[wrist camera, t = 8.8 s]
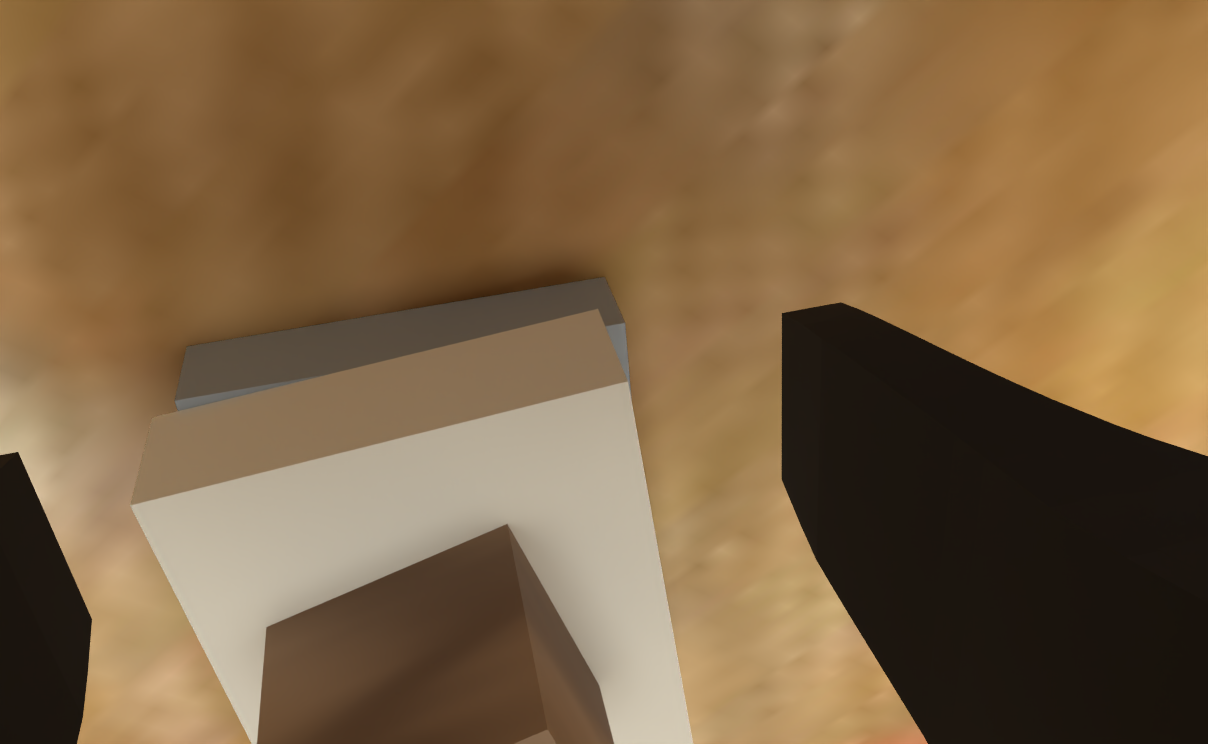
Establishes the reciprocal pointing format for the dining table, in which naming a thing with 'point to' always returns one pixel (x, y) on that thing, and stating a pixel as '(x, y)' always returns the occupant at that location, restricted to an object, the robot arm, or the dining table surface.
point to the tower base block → (381, 340)
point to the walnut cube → (433, 660)
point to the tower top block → (422, 502)
